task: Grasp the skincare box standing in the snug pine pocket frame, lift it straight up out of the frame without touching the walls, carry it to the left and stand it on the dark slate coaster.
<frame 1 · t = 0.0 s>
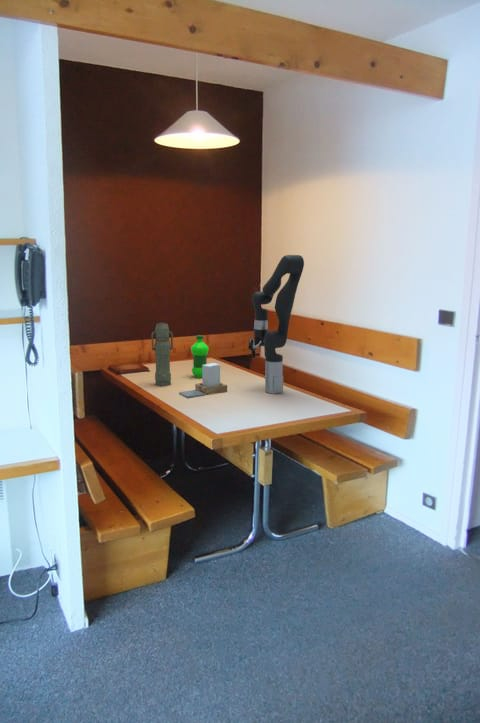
hand: (259, 356, 319), 17 cm above the table, tool pointing down, fingers open, 8 cm apart
plastic bottle: (200, 377, 346), on the table
pocket frame: (211, 390, 313), on the table
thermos: (163, 384, 326), on the table
slate pad: (191, 394, 304), on the table
skincare box: (211, 391, 313), resting in pocket frame
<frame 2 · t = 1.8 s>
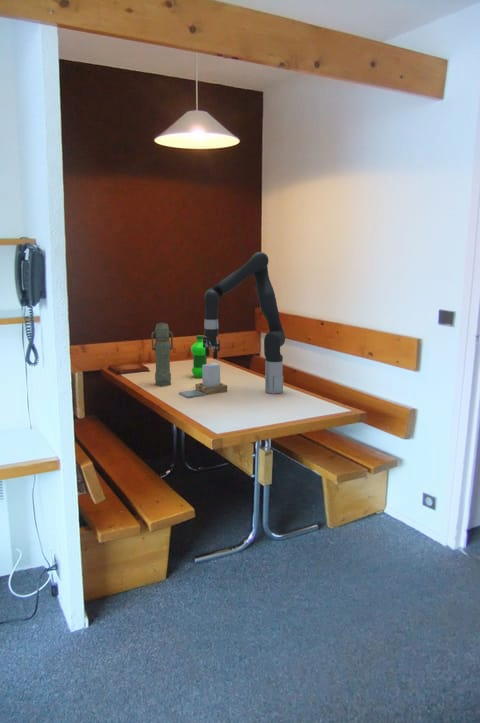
hand: (211, 357, 309), 19 cm above the table, tool pointing down, fingers open, 8 cm apart
nothing on the table moved.
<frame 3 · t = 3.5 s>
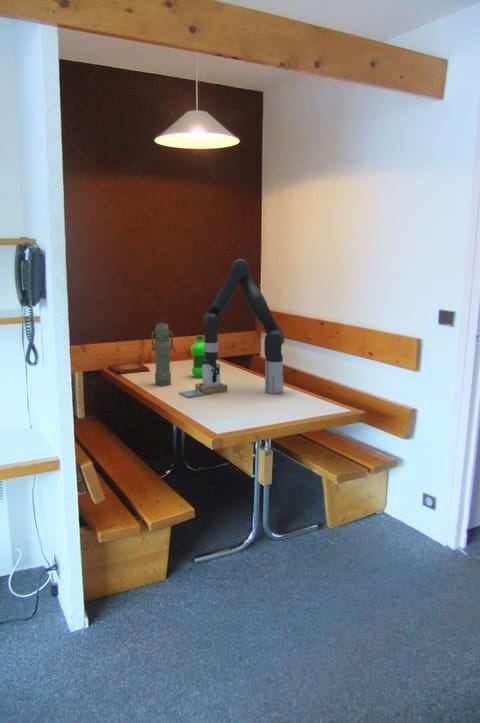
hand: (211, 380, 311), 6 cm above the table, tool pointing down, fingers closed on skincare box, 6 cm apart
skincare box: (211, 391, 313), resting in pocket frame, touching gripper
everything else where it was.
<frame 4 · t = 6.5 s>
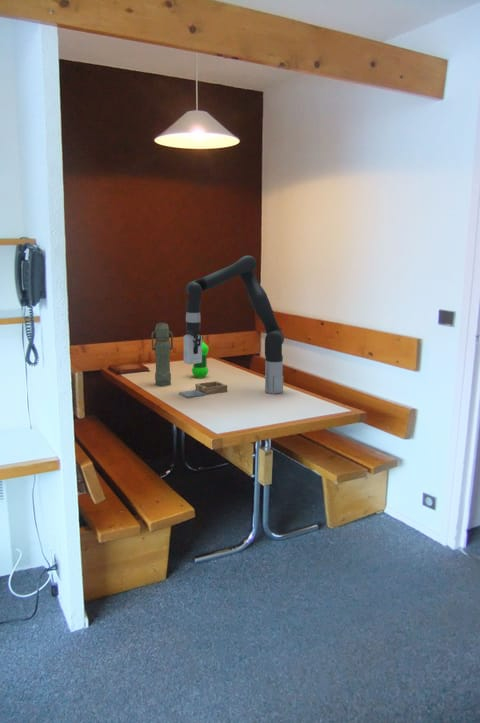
hand: (192, 352, 301), 22 cm above the table, tool pointing down, fingers closed on skincare box, 6 cm apart
skincare box: (192, 363, 303), point 17 cm above the table, touching gripper
everything else where it was.
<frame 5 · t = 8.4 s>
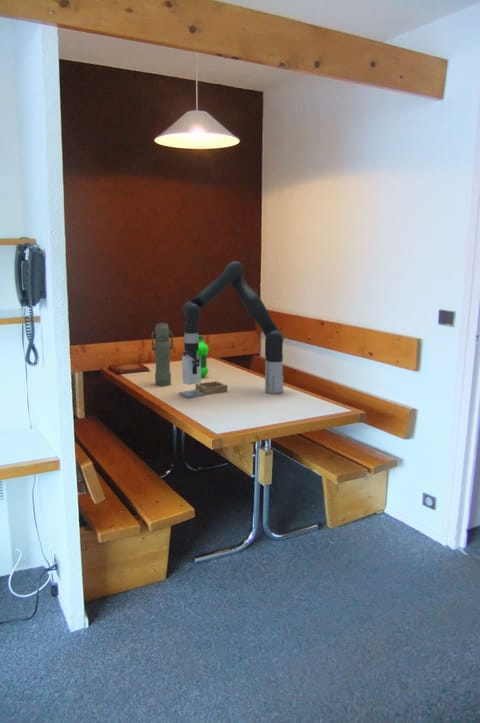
hand: (191, 372, 302), 12 cm above the table, tool pointing down, fingers closed on skincare box, 6 cm apart
skincare box: (191, 383, 303), point 6 cm above the table, touching gripper
everything else where it was.
when the fingers open (8 cm above the table, at t = 9.8 s): skincare box drops 1 cm, resting on slate pad.
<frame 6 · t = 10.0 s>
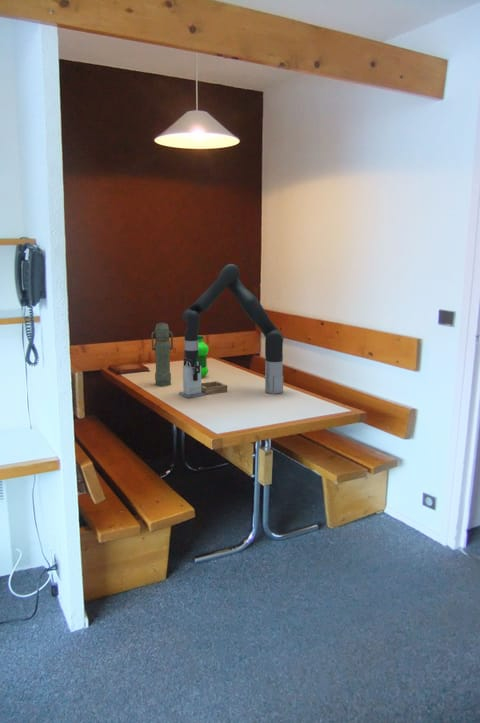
hand: (191, 379, 302), 8 cm above the table, tool pointing down, fingers open, 8 cm apart
skincare box: (192, 393, 304), point 1 cm above the table, touching slate pad
everything else where it was.
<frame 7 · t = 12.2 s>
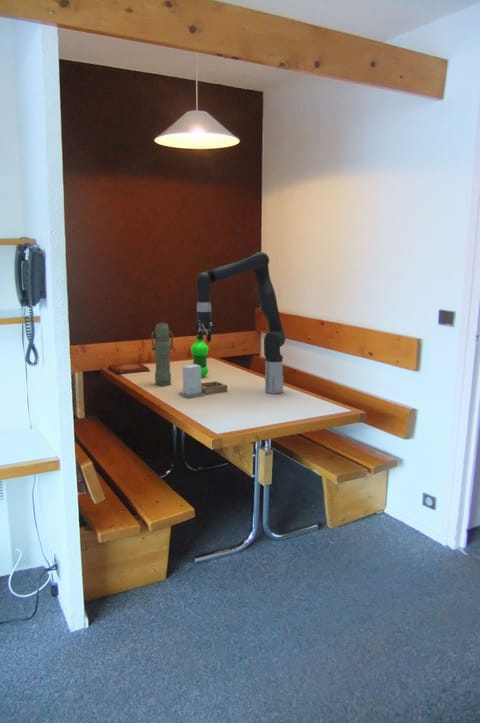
hand: (204, 340, 309), 27 cm above the table, tool pointing down, fingers open, 8 cm apart
nothing on the table moved.
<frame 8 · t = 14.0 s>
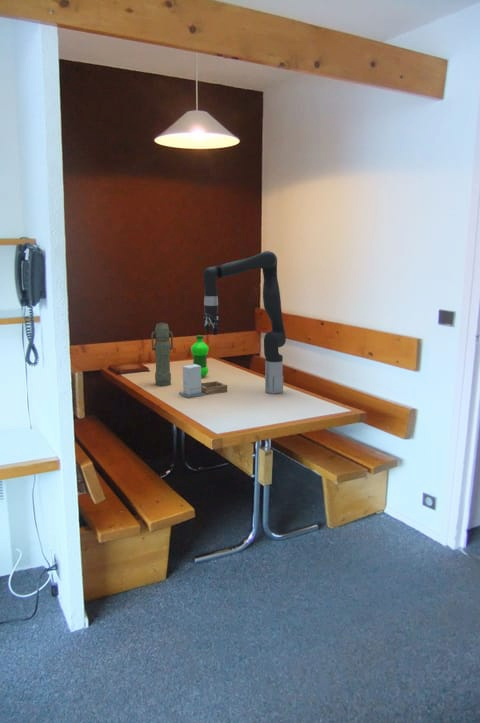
hand: (211, 333, 314), 30 cm above the table, tool pointing down, fingers open, 8 cm apart
nothing on the table moved.
at the end: skincare box inside the target area on the slate pad (0.3 cm from its centre), point 0.8 cm above the slate pad's base; skincare box tilted 0°; the gripper is holding nothing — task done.
